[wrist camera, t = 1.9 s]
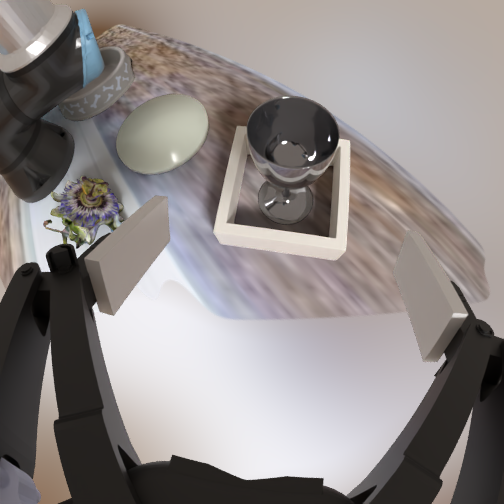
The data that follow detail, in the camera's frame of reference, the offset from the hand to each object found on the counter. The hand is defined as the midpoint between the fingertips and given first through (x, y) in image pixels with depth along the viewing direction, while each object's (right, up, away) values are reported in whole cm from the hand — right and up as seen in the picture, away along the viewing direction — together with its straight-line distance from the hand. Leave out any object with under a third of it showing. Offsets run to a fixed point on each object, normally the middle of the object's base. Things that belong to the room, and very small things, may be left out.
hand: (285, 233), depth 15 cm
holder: (+3, +6, +22) cm, 23 cm away
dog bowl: (-33, +33, +31) cm, 56 cm away
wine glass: (+3, +6, +23) cm, 23 cm away
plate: (-16, +17, +26) cm, 35 cm away
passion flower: (-24, +3, +23) cm, 34 cm away
